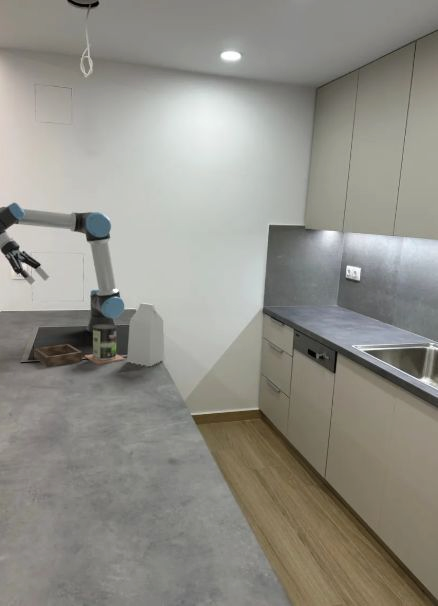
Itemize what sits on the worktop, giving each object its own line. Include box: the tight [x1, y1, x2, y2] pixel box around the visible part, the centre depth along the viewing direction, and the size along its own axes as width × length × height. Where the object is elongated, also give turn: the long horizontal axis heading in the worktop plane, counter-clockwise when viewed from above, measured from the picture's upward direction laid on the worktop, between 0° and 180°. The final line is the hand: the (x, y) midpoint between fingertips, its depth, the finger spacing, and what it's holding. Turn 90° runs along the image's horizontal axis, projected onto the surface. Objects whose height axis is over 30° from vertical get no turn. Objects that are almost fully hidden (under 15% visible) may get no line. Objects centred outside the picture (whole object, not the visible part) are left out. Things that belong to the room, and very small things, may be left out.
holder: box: [33, 343, 83, 368], centre depth 201 cm, size 15×15×4 cm
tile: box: [84, 353, 125, 365], centre depth 206 cm, size 13×13×1 cm
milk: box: [126, 302, 165, 367], centre depth 203 cm, size 12×12×26 cm
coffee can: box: [92, 324, 117, 360], centre depth 205 cm, size 10×10×14 cm
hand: (40, 280), depth 207 cm, fingers open, 13 cm apart
